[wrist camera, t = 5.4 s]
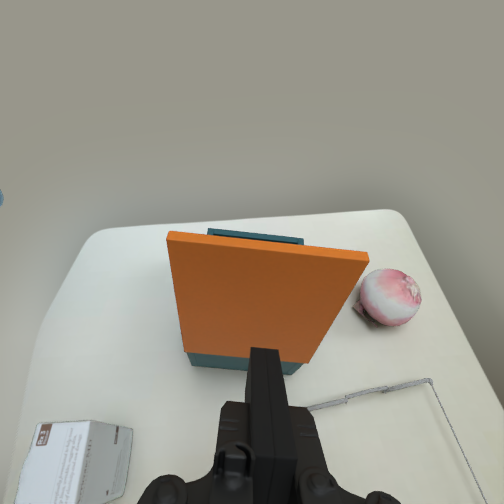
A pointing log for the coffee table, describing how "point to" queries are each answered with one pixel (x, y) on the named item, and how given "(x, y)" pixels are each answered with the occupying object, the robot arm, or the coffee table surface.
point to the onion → (389, 297)
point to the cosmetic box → (75, 463)
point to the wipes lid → (258, 293)
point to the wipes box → (241, 362)
